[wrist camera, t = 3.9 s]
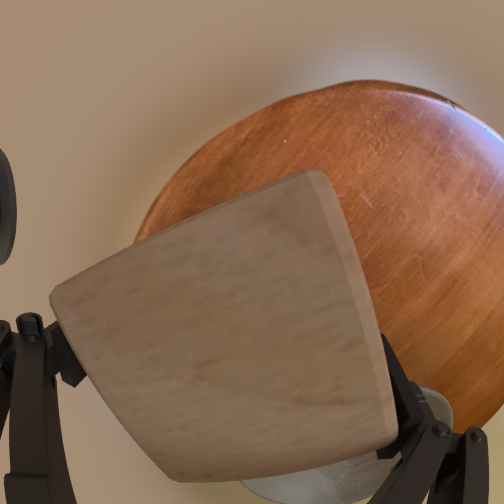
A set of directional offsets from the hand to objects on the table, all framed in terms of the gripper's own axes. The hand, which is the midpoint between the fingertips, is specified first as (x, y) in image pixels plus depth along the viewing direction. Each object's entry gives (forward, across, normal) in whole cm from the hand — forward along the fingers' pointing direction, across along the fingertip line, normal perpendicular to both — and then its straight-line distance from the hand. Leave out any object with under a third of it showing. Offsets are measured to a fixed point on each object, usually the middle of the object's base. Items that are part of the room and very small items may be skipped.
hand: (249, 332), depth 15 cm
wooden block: (+13, 0, 0) cm, 13 cm away
